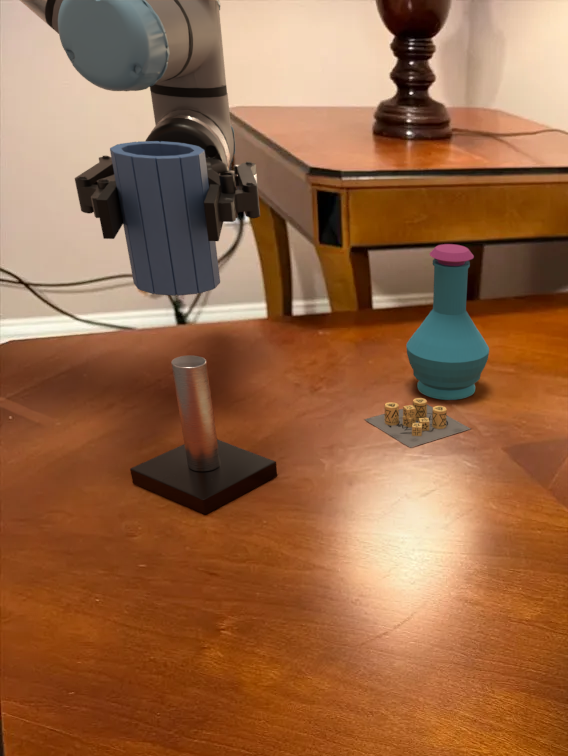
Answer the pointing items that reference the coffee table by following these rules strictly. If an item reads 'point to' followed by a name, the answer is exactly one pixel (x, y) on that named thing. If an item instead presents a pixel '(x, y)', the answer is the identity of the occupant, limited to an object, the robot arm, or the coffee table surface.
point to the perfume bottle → (448, 332)
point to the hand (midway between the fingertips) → (158, 220)
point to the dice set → (416, 422)
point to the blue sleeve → (166, 216)
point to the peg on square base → (201, 451)
